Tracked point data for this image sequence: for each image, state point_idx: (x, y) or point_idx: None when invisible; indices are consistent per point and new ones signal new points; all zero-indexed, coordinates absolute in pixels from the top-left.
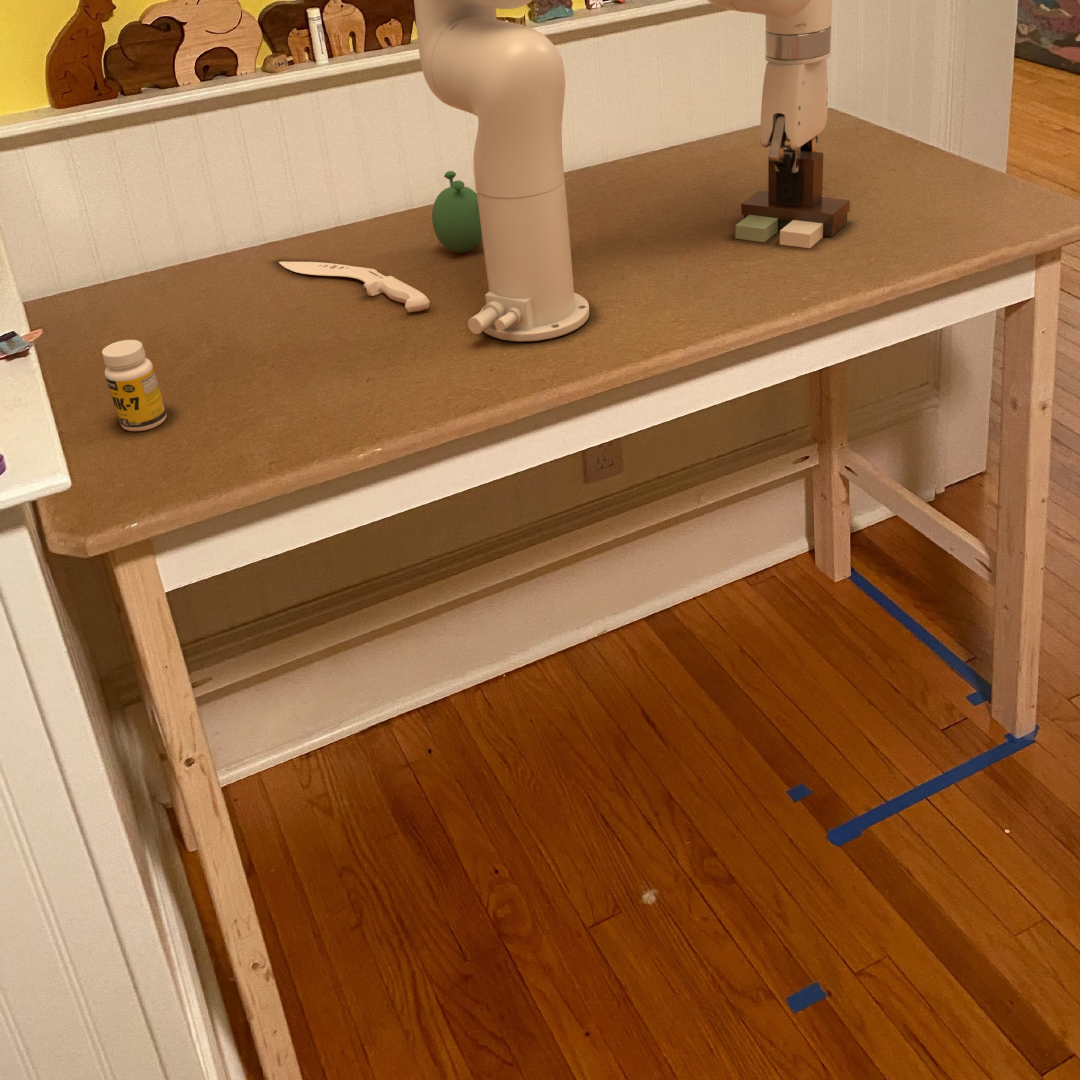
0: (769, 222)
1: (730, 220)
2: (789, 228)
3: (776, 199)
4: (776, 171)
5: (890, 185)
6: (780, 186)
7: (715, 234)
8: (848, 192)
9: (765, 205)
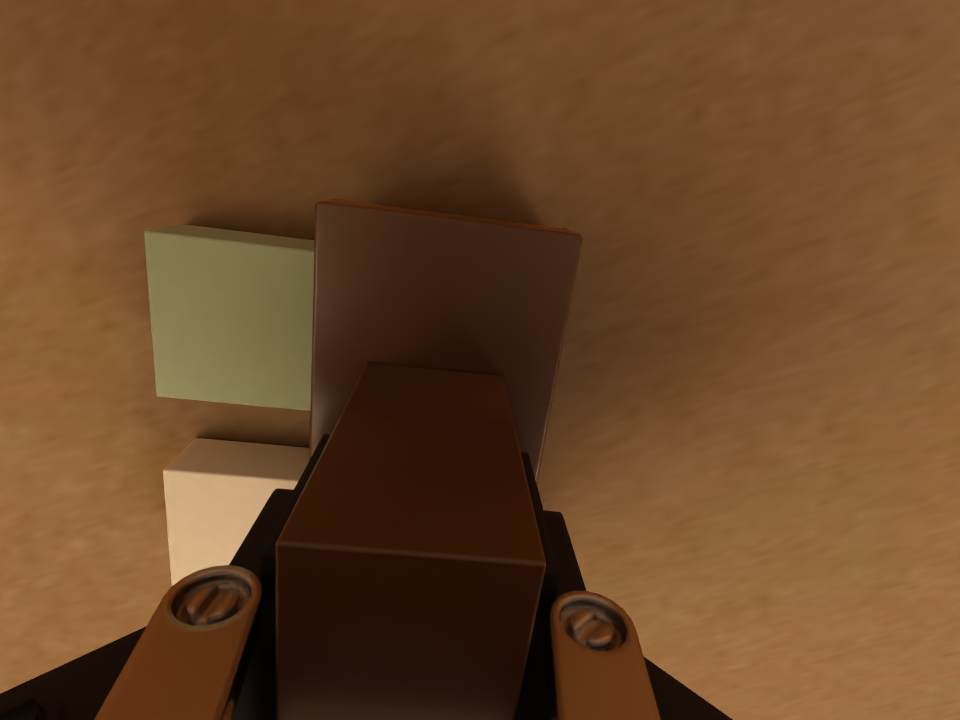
0: (245, 393)
1: (429, 101)
2: (206, 500)
3: (324, 436)
4: (201, 576)
5: (923, 619)
6: (255, 526)
7: (204, 91)
8: (853, 510)
9: (329, 358)
